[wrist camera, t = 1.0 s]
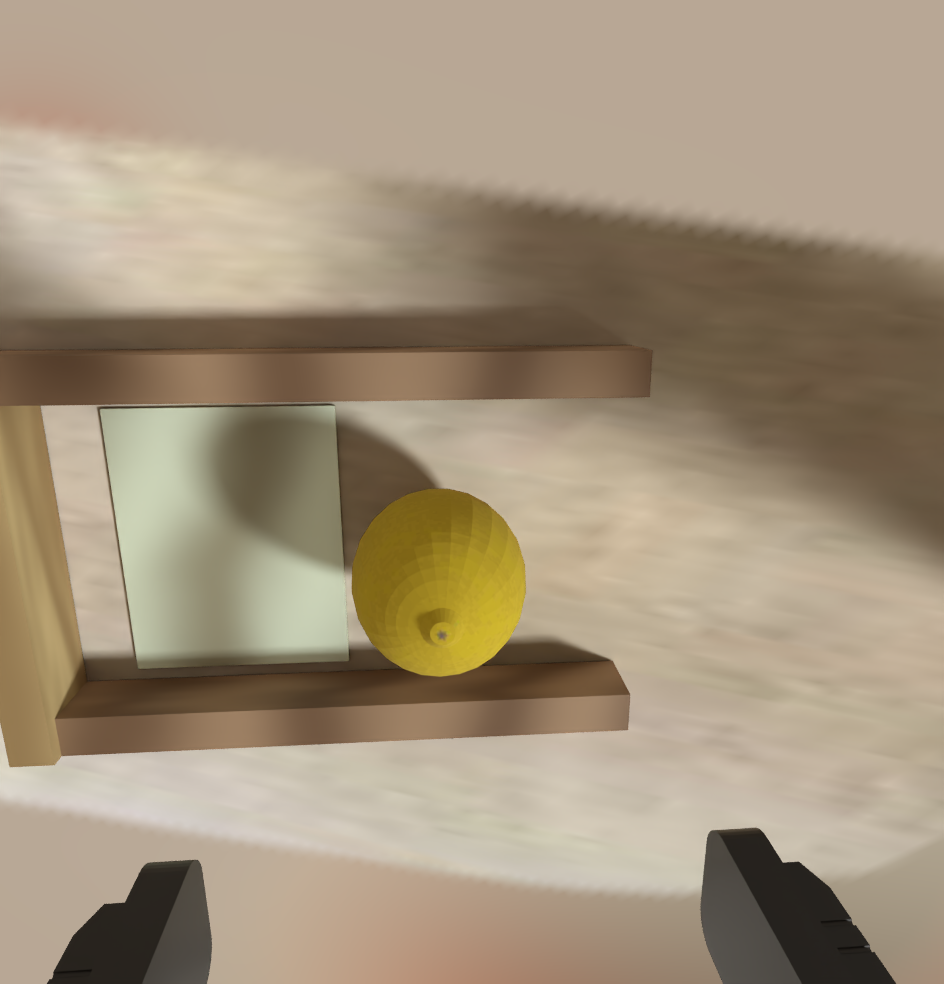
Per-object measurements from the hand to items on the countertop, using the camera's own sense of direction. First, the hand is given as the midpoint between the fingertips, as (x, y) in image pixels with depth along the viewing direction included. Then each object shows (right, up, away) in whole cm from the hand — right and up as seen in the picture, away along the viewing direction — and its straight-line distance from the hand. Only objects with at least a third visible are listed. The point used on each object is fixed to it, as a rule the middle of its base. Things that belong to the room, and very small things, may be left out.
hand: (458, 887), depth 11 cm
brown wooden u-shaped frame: (-5, +4, +15) cm, 16 cm away
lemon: (-1, +5, +16) cm, 16 cm away
